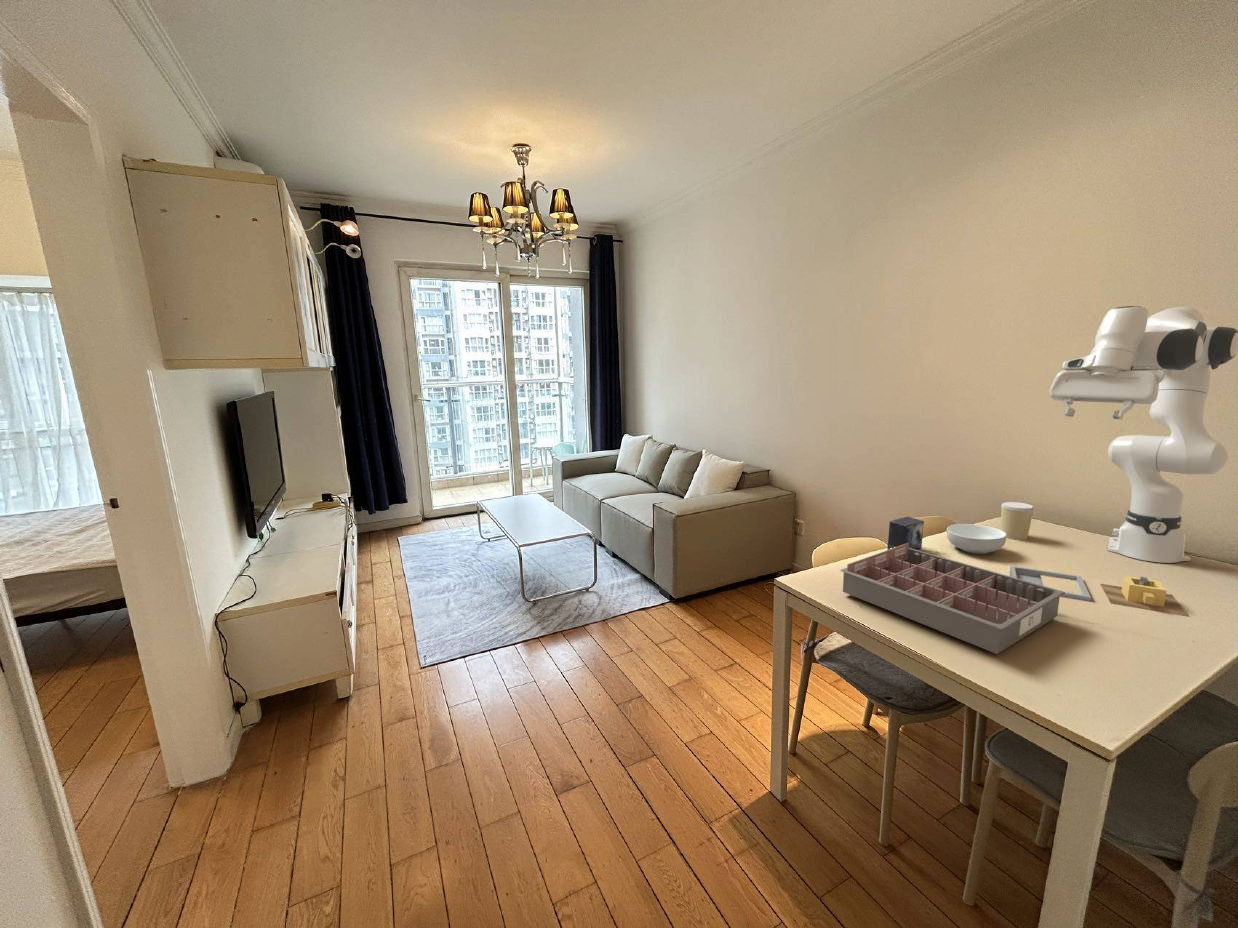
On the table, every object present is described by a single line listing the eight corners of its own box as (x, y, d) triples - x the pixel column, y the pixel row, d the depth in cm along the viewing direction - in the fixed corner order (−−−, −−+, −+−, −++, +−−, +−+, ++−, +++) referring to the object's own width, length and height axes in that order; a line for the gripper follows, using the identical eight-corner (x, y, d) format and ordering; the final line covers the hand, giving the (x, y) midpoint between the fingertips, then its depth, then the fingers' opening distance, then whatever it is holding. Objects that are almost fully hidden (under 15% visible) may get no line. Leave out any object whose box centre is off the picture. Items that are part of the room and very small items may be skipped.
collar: (1121, 591, 135) (1123, 575, 135) (1156, 596, 132) (1158, 581, 131) (1130, 605, 128) (1132, 589, 127) (1167, 611, 124) (1170, 594, 123)
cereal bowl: (958, 538, 184) (960, 520, 183) (1012, 551, 170) (1015, 531, 169) (936, 549, 175) (937, 529, 174) (991, 563, 161) (993, 542, 160)
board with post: (1099, 588, 141) (1102, 565, 139) (1171, 600, 133) (1175, 575, 131) (1109, 608, 129) (1113, 583, 128) (1189, 622, 121) (1194, 595, 120)
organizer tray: (999, 662, 109) (1003, 620, 107) (838, 595, 143) (839, 563, 141) (1061, 621, 124) (1066, 584, 123) (903, 570, 159) (905, 540, 157)
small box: (904, 554, 171) (906, 525, 169) (886, 549, 176) (888, 520, 174) (922, 548, 175) (925, 520, 173) (905, 543, 181) (907, 515, 179)
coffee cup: (1025, 533, 186) (1029, 502, 184) (1034, 541, 178) (1037, 509, 176) (995, 531, 190) (998, 500, 188) (1002, 539, 182) (1005, 507, 180)
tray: (1009, 573, 153) (1010, 565, 152) (1079, 584, 144) (1080, 576, 143) (1012, 592, 140) (1013, 584, 140) (1089, 606, 131) (1091, 597, 131)
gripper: (1170, 371, 120) (1152, 425, 120) (1063, 371, 138) (1048, 418, 138) (1164, 360, 117) (1146, 416, 117) (1056, 362, 135) (1039, 410, 134)
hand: (1092, 417), depth 127 cm, fingers open, 8 cm apart
